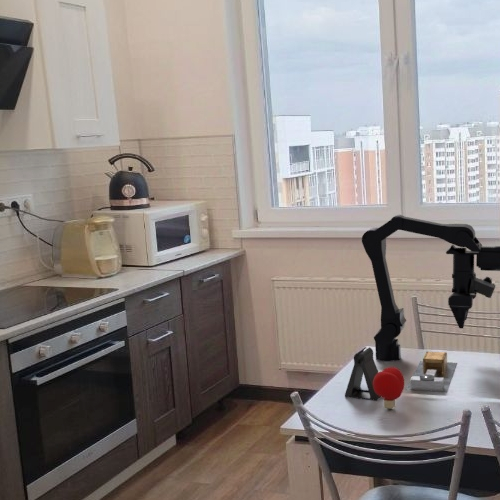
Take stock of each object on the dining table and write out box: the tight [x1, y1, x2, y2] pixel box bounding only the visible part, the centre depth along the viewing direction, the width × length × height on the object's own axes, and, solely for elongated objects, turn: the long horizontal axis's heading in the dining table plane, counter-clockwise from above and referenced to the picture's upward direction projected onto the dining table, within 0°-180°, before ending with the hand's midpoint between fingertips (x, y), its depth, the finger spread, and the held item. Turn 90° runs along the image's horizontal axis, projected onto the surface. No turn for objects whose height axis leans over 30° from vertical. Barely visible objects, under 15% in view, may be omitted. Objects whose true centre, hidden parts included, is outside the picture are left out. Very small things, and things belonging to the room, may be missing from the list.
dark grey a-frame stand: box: [344, 346, 382, 402], centre depth 193 cm, size 9×6×12 cm, turn 59°
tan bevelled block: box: [422, 351, 448, 374], centre depth 208 cm, size 6×7×4 cm
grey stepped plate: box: [405, 360, 458, 395], centre depth 203 cm, size 10×25×4 cm, turn 159°
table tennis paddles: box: [373, 366, 405, 411], centre depth 182 cm, size 9×7×10 cm
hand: (462, 324), depth 212 cm, fingers open, 9 cm apart
